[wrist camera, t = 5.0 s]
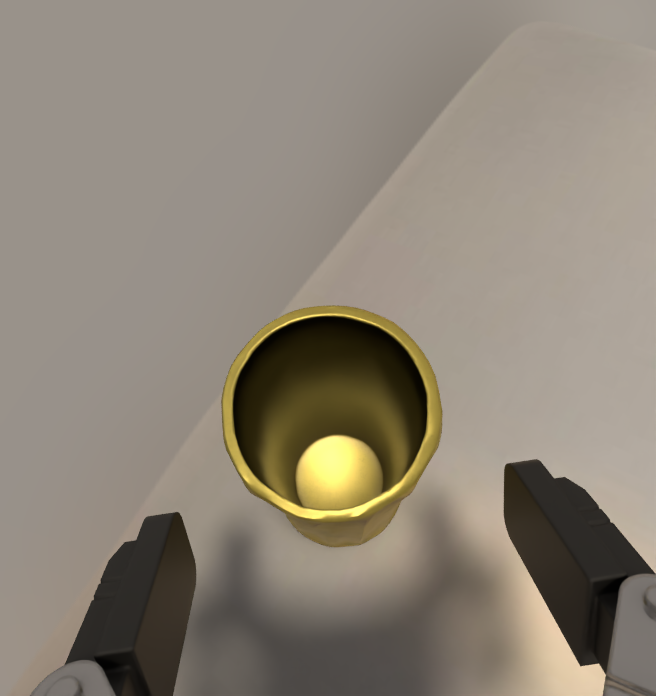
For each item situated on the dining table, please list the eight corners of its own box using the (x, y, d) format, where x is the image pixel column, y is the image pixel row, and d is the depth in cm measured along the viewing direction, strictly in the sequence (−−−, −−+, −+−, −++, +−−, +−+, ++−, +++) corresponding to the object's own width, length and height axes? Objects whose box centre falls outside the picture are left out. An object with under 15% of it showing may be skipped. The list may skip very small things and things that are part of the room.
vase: (310, 571, 23) (262, 600, 10) (258, 453, 26) (161, 350, 12) (425, 509, 24) (517, 462, 11) (365, 400, 26) (381, 250, 13)
